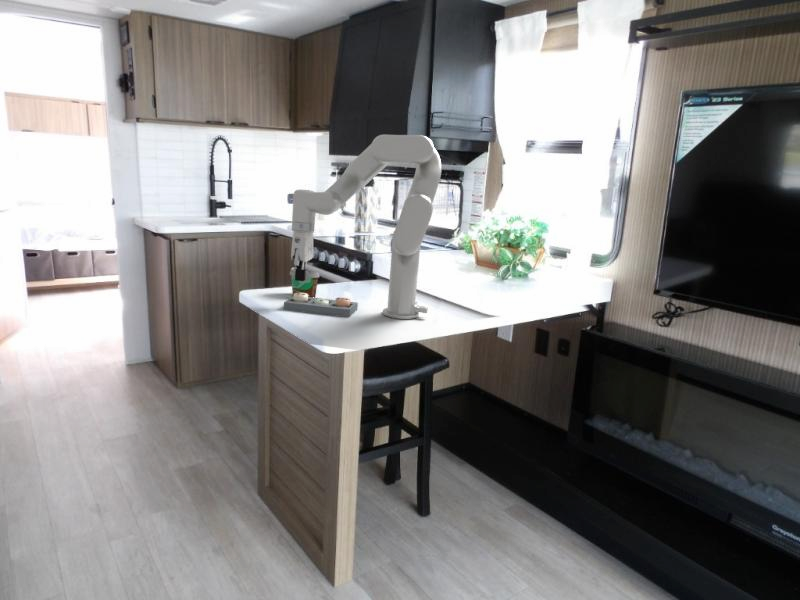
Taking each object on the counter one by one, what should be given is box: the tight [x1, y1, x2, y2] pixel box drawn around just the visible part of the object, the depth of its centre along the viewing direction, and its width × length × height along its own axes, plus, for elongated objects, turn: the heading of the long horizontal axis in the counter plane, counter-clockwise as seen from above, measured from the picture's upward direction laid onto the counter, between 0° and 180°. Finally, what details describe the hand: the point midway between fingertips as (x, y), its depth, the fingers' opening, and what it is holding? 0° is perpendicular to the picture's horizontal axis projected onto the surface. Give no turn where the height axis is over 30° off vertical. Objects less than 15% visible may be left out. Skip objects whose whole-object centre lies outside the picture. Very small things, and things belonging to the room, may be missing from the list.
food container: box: [289, 266, 320, 298], centre depth 210 cm, size 12×6×10 cm, turn 62°
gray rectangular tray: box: [283, 295, 359, 318], centre depth 194 cm, size 23×11×3 cm, turn 80°
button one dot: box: [314, 298, 329, 305], centre depth 194 cm, size 5×5×3 cm
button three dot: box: [335, 296, 351, 308], centre depth 193 cm, size 5×5×3 cm
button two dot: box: [293, 293, 308, 303], centre depth 195 cm, size 5×5×3 cm
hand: (300, 280), depth 194 cm, fingers closed
